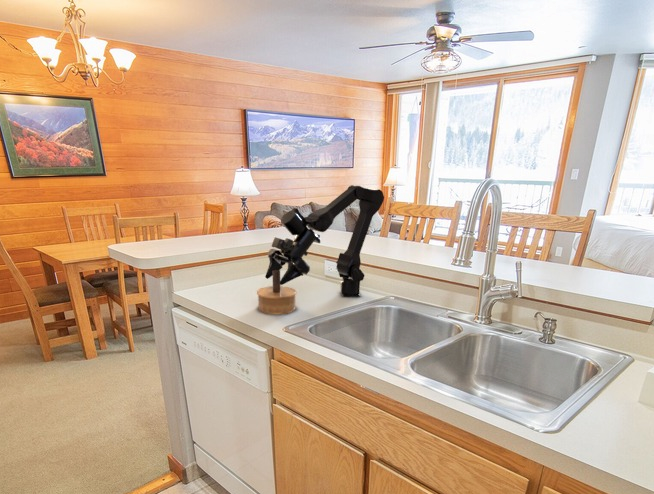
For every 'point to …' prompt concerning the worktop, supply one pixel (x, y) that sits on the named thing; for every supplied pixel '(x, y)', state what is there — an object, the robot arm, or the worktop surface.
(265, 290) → the lid
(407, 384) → the worktop surface
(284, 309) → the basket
